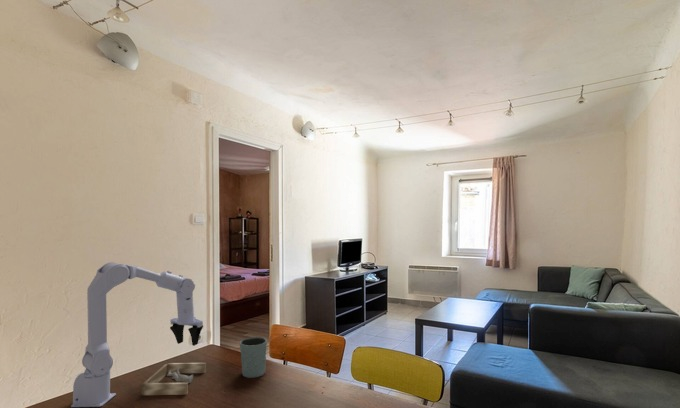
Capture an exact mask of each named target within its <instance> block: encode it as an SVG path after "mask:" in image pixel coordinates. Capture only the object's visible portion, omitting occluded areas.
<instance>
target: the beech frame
mask: <svg viewBox="0 0 680 408" xmlns="http://www.w3.org/2000/svg"><path fill="white" fill-rule="evenodd" d="M177 367H179V373H180V374H205V373H206V372H207V371H206V369H207V362H166V363H165V364H164V365H162V366H161V367H160V368H159V369H158V370H156V371H155V372H154V373H153V374H152V375H151V376H149V378H147V379H146V380H145V381H144V382H143V383H142V384H141V391H140V392H141V393H140V394H141V396H173V395H174V396H178V395H189V383H188V382H183V383H178V382H161V380H163V379H164V378H165V377H166V376H167V375H168V373H169V371H170V370H171V373H174V372H176V373H177Z"/></svg>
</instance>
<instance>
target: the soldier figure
mask: <svg viewBox="0 0 680 408" xmlns="http://www.w3.org/2000/svg"><path fill="white" fill-rule="evenodd" d="M166 376H167V377H171V379H172V380H174V381H175V383H187V382H188V384H192V382H193V379H194V374H191V375H186V374H182V373H179V367H177V373H176V372H174V373H171V370H170V371H169V373H168V374H167V375H166Z"/></svg>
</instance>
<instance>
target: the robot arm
mask: <svg viewBox="0 0 680 408" xmlns="http://www.w3.org/2000/svg"><path fill="white" fill-rule="evenodd" d="M135 278H139V279H143V280H146V281H150V282H151V281H152V282H154V283H155V284H156V286H157V287H158V288H162V289H166V290H169V291H173V292H175V293H176V306H177V317H173V318H170V320H169V321H170V325H172V326H170V327H169V328H170V331H171V332H172V333H173V335H174V337H175V340H176V343H177V344H181V343H184V330H185V326H189V328H188V329H187V330H188V332H189V334H190V339H191V344H192V347H193V346H196V345H198V344H199V339H200V335H201V332H202V330H203V328H204V325H203V320H200V319H197V318H196V316H195V310H194V297H193V294H194V291H195V289H196V284H195V283H194V281H193V279H190V278H187V277H184V276H183V275H181V274H179V275H177V274H174V273H172V271H170V270H167V271H161V272H160V273H157V272H156V271H152V270H149V269H146V268H142V267H140V266H135V265H132V264H131V265H130V264H124V263H116V262H114V261H113V262H111V261H110V262H107V263H104V265H102V266H100V268H98V269H97V271H96V274H95V275H94V278H93V279H92V281H91V282H90V283H89V285H88V286H87V293H86V294H87V344H86V346H85V348H84V349H85V350H84V355H83V357H82V359H81V364H82V366H83V367H84V368H85V369H84V372H82V373H79V374H78V375H77V376H76V378H75V380H74V381H73V384H72V385H73V387H72V388H73V389H72V404H71V405H70V408H90V407H91V408H96V407H97V408H98V407H103V406H104V405H105V404H107V402H108V401H110V400H111V399H113V397H115V396H116V395H117V393H116V392H114V393H113V392H112V393H111V369H112V367H113V365H114V359H113V357H112V356H111V354H110V347H109V345H108V334H107V333H108V332H107V331H108V330H107V329H108V328H107V326H108V325H107V324H108V323H107V322H108V321H107V314H108V313H107V294H108V293H109V292H110V291H112V289H114V288H115V287H117V286H119V285H121V284H123V283H124V282H126V281H127V280H132V279H135Z"/></svg>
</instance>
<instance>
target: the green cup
mask: <svg viewBox="0 0 680 408" xmlns="http://www.w3.org/2000/svg"><path fill="white" fill-rule="evenodd" d="M267 341H268V339H267V338H265V337H262V336H261V337H260V336H253V337H252V336H251V337H247V338H244V339H242V340H240V342H239V348H240V358H241V360H240V361H241V375H242V376H243V377H244V378H249V379H252V378H253V379H254V378H259V377H261V376H264V374H265V373H266V368H267V367H266V362H267V361H266V360H267V359H266V358H267V356H266V355H267V346H268V345H267V343H268V342H267Z"/></svg>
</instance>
